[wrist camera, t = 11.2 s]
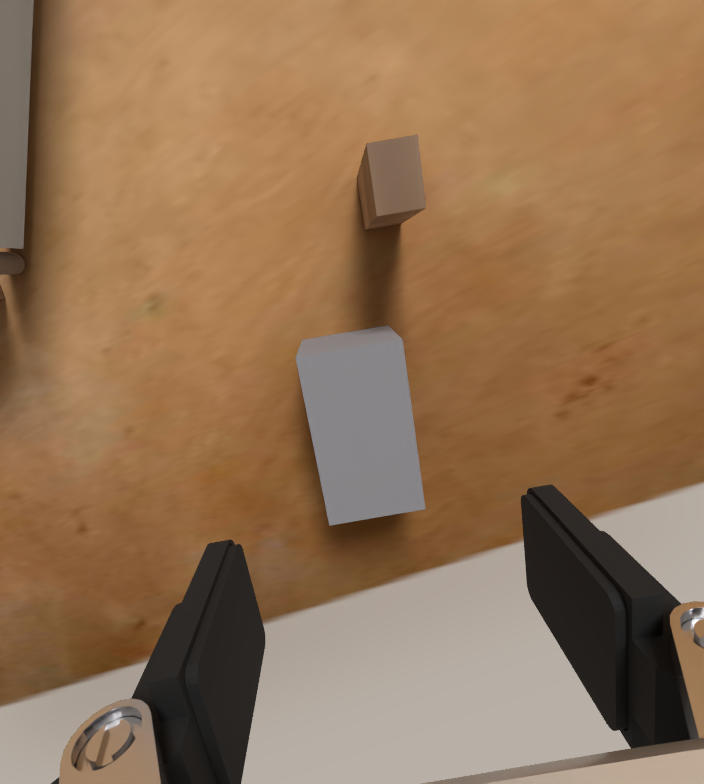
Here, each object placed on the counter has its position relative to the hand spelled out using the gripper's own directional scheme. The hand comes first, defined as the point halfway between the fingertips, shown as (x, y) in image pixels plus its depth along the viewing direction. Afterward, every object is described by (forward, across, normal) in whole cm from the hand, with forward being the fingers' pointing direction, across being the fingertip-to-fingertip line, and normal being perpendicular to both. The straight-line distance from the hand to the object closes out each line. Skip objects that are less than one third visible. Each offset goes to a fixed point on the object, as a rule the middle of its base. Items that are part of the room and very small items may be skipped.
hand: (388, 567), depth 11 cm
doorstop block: (+14, 0, 0) cm, 14 cm away
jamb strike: (+14, -3, -10) cm, 17 cm away
